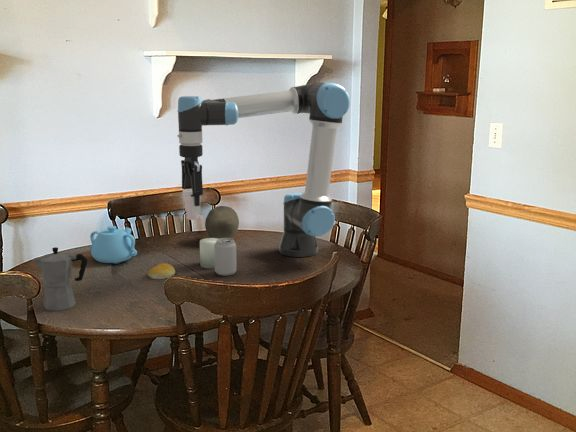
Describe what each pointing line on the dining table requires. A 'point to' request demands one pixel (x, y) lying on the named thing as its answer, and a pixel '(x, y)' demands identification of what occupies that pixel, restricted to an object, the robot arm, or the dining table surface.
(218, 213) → the cantaloupe
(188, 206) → the smoothie
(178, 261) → the dining table surface
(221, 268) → the can
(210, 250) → the sage mug
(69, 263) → the coffeepot
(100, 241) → the teapot
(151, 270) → the bread roll
